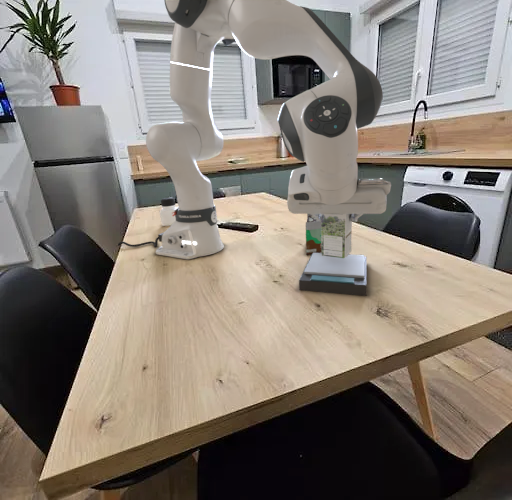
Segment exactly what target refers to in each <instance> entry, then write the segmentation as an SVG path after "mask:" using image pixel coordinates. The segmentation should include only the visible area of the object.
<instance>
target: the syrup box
mask: <svg viewBox="0 0 512 500" xmlns="http://www.w3.org/2000/svg"><path fill="white" fill-rule="evenodd" d="M352 232H353V221H351V214H321V244H322V252H321V253H322V256H330V257H338V258H345V257H347V255H348V254H351V252H352V249H353V248H352V245H353V243H352V237H353V236H352V235H353V233H352Z"/></svg>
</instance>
